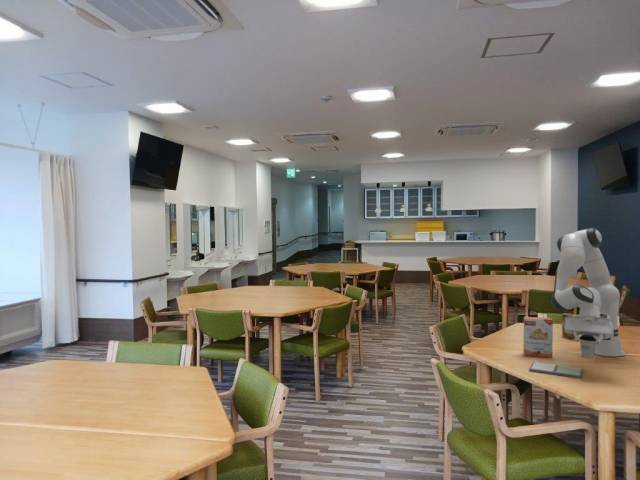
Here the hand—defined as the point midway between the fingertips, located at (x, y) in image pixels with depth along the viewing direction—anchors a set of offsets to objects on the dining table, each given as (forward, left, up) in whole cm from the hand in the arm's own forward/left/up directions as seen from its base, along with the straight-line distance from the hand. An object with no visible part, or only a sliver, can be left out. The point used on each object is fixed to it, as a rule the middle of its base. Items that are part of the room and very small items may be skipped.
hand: (587, 342), depth 211 cm
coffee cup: (-1, 0, -7) cm, 7 cm away
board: (-3, -13, -16) cm, 21 cm away
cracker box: (-27, -24, -17) cm, 40 cm away
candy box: (-79, -12, -17) cm, 81 cm away
